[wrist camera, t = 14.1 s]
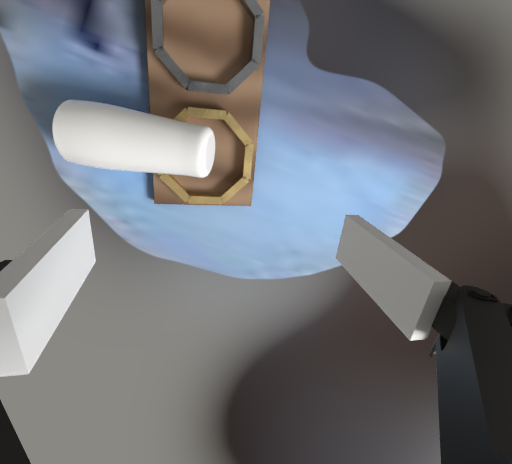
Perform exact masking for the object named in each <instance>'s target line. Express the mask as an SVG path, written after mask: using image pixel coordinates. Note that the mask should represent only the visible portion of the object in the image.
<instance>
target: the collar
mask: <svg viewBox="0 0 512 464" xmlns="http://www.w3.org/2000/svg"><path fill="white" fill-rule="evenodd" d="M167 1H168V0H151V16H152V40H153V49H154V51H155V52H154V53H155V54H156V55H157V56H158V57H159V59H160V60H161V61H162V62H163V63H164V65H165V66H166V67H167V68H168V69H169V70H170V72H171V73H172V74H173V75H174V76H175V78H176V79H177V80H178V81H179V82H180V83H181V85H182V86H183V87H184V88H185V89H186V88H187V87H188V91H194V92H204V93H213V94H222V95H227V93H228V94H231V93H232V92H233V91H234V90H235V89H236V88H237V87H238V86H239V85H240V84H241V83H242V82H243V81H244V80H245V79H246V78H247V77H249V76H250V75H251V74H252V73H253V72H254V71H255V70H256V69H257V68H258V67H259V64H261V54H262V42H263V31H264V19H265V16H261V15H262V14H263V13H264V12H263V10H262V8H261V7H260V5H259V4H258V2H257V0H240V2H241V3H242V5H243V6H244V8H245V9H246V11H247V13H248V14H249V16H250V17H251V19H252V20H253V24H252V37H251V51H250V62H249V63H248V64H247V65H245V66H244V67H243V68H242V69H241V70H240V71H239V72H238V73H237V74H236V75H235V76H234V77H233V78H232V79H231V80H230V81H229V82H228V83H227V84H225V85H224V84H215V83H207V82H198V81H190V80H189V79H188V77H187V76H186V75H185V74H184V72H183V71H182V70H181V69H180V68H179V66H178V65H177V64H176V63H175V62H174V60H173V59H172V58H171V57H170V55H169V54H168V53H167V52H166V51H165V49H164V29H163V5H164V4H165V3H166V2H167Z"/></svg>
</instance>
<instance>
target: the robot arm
mask: <svg viewBox="0 0 512 464" xmlns="http://www.w3.org/2000/svg"><path fill="white" fill-rule="evenodd" d="M336 259H337V260H338V261H339V262H340V263H341V264H342V265H343V267H344V268H345V269H346V270H347V271H348V272H349V273H350V274H351V275H352V277H353V278H354V279H355V280H356V281H357V282H358V283H359V284H360V285H361V287H362V288H363V289H364V290H365V291H366V292H367V293H368V294H369V295H370V297H371V298H372V299H373V300H374V301H375V302H376V303H377V304H378V305H379V307H380V308H381V309H382V310H383V311H384V312H385V313H386V314H387V315H388V317H389V318H390V319H391V320H392V321H393V322H394V323H395V324H396V326H397V327H398V328H399V329H400V330H401V331H402V332H403V333H404V334H405V335H406V337H407V338H408V339H409V340H410V341H411V340H423V339H427V336H428V334H429V332H430V330H431V327H433V328H434V329H435V330H436V331H437V332H438V333H439V334H438V336H437V338H436V341H435V343H434V345H433V347H432V350H431V352H430V354H429V356H430V357H432V356H433V354H435V353H436V365H437V384H438V408H439V429H440V449H441V450H440V451H441V464H512V304H507V303H501V301H500V300H499V299H498V298H497V297H496V296H495V295H493V294H492V293H490V292H488V291H486V290H483V289H480V288H478V287H474V286H467V285H463V286H458V285H457V284H456V283H454V282H453V281H451V280H450V279H448V278H447V277H446V276H444V275H443V274H441V273H440V272H438V271H437V270H436V269H434V268H433V267H431V266H430V265H429V264H427V263H426V262H424V261H423V260H422V259H419V258H418V257H417V256H415V255H414V254H412V253H411V252H410V251H408V250H407V249H405V248H404V247H403V246H401V245H400V244H398V243H397V242H395V241H394V240H393V239H391V238H390V237H388V236H387V235H386V234H384V233H383V232H381V231H380V230H378V229H377V228H376V227H374V226H373V225H371V224H370V223H369V222H367V221H366V220H364V219H363V218H361V217H360V216H359V215H346V217H345V221H344V225H343V229H342V234H341V238H340V242H339V246H338V251H337V255H336ZM95 262H96V260H95V253H94V246H93V239H92V232H91V226H90V218H89V212H88V210H87V209H69V210H68V211H67V212H66V213H65V214H64V215H63V216H62V217H60V218H59V219H58V220H57V221H56V222H55V223H54V224H53V225H51V226H50V227H49V228H48V229H47V230H46V231H45V232H44V233H43V234H42V235H40V236H39V237H38V238H37V239H36V240H35V241H34V242H33V243H31V244H30V245H29V246H28V247H27V248H26V249H25V250H24V251H23V252H21V253H20V254H19V255H18V256H17V257H16V258H15V259H14V260H5V261H2V262H0V377H2V376H14V375H25V374H29V373H30V371H31V369H32V368H33V366H34V364H35V363H36V361H37V359H38V358H39V356H40V354H41V353H42V351H43V349H44V348H45V346H46V344H47V343H48V341H49V339H50V338H51V336H52V334H53V332H54V331H55V329H56V327H57V326H58V324H59V322H60V321H61V319H62V317H63V316H64V314H65V312H66V311H67V309H68V307H69V306H70V304H71V302H72V301H73V299H74V297H75V296H76V294H77V292H78V290H79V289H80V287H81V285H82V284H83V282H84V280H85V279H86V277H87V275H88V274H89V272H90V270H91V268H92V267H93V265H94V264H95ZM0 464H31V463H30V461H29V459H28V457H27V455H26V453H25V451H24V449H23V447H22V444H21V442H20V440H19V438H18V436H17V434H16V432H15V430H14V428H13V426H12V424H11V421H10V419H9V417H8V415H7V413H6V411H5V409H4V407H3V405H2V403H1V400H0Z"/></svg>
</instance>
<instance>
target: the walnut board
mask: <svg viewBox="0 0 512 464" xmlns="http://www.w3.org/2000/svg"><path fill="white" fill-rule="evenodd" d="M257 2H258V4H259V5H260V7H261V8H262V10H263V12H264V13H263V14H262V15H261V16H265V19H264V31H263V42H262V54H261V64H259V67H258V68H257V69H256V70H255V71H254V72H253V73H252V74H251V75H250V76H249V77H247V78H246V79H245V80H244V81H243V82H242V83H241V84H240V85H239V86H238V87H237V88H236V89H235V90H234V91H233V92H232V93H231V94H228V93H227V95H222V94H213V93H204V92H194V91H188V87H187V88H186V89H185V88H184V87H183V86H182V85H181V83H180V82H179V81H178V80H177V79H176V78H175V76H174V75H173V74H172V73H171V72H170V70H169V69H168V68H167V67H166V66H165V65H164V63H163V62H162V61H161V60H160V59H159V57H158V56H157V55H156V54H155V53H154V52H155V51H154V49H153V40H152V16H151V0H145V15H146V36H147V57H148V78H149V99H150V114H153V115H158V116H162V117H166V118H170V119H174V118H175V117H176V116H177V115H178V114H179V113H180V112H181V111H182V110H184V109H185V108H186V109H187V110H188V107H195V108H206V109H216V110H225V111H227V112H229V113H230V114H231V115H232V116H233V118H234V119H235V120H236V121H237V123H238V124H239V125H240V126H241V128H242V129H243V130H244V131H245V133H246V134H247V135H248V136H249V138H250V139H251V140H252V141H253V142H252V144H253V156H252V167H251V179H248V180H249V182H248V183H247V184H246V185H245V186H244V187H242V188H241V189H240V190H239V191H238V192H237V193H236V194H235V195H233V196H232V197H231V198H230V199H229V200H228V201H227V202H225V203H223V202H222V204H189V203H188V201H186V202H184V201H183V200H182V199H181V198H180V197H179V196H178V195H177V194H176V193H175V192H174V191H173V190H172V189H171V188H170V187H169V186H168V185H167V184H165V183H164V182H163V181H162V180H161V179H160V178H159V177H160V175H158V173H153V183H154V204H188V205H227V206H251V202H252V192H253V181H254V170H255V159H256V148H257V137H258V126H259V116H260V105H261V94H262V83H263V72H264V61H265V50H266V40H267V29H268V18H269V7H270V0H257ZM252 24H253V20H252V19H251V17H250V16H249V14H248V13H247V11H246V9H245V8H244V6H243V5H242V3H241V2H240V0H168V1H167V2H166V3H165V4H164V5H163V29H164V49H165V51H166V52H167V53H168V54H169V55H170V57H171V58H172V59H173V60H174V62H175V63H176V64H177V65H178V66H179V68H180V69H181V70H182V71H183V72H184V74H185V75H186V76H187V77H188V79H189V80H190V81H198V82H207V83H215V84H224V85H225V84H227V83H228V82H229V81H230V80H231V79H232V78H233V77H234V76H235V75H236V74H237V73H238V72H239V71H240V70H241V69H242V68H243V67H244V66H245V65H247V64H248V63H249V62H250V51H251V37H252ZM185 122H187V123H192V124H199V125H205V126H208V127H210V128H211V129H212V130H213V132H214V136H215V157H214V162H213V166H212V169H211V171H210V173H209V175H208V176H206V177H204V178H198V177H192V176H184V175H173V174H171V175H172V176H173V177H174V178H175V179H176V180H177V181H178V182H179V183H180V184H181V185H182V186H183V187H184V188H185V189H187V190H188V191H189V192H190V193H212V194H220V193H221V192H222V191H223V190H224V189H225V188H227V187H228V186H229V185H230V184H231V183H232V182H233V181H234V180H236V179H237V178H238V177H239V176H240V175H241V171H242V158H243V143H242V142H241V140H240V139H239V138H238V137H237V136H236V134H235V133H234V132H233V131H232V129H231V128H230V127H229V126H228V125H227V123H226V122H225V121H224V120H221V119H210V118H199V117H189V118H188V119H187V120H186V121H185Z"/></svg>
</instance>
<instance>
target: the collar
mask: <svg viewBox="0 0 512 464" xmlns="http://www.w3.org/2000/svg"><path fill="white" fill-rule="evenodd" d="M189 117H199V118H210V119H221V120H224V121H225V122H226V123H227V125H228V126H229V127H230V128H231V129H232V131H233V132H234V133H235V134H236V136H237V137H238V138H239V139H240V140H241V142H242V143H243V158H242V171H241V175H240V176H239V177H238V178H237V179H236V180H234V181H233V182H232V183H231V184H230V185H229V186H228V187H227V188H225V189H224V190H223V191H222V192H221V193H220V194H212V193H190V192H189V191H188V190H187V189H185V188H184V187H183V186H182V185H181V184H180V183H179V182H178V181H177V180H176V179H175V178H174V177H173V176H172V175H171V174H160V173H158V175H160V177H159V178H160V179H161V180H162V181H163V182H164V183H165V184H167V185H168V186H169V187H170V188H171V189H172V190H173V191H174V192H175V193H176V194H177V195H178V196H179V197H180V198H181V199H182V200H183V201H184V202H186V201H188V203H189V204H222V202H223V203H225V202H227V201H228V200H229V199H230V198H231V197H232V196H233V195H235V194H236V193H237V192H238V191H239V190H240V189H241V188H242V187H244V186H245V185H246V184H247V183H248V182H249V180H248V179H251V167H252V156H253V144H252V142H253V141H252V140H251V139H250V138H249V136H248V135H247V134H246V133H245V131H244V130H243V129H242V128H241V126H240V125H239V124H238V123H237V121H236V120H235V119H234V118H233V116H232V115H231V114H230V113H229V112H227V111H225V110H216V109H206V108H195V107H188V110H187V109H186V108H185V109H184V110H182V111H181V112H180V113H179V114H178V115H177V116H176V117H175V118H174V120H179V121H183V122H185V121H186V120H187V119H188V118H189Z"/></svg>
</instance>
